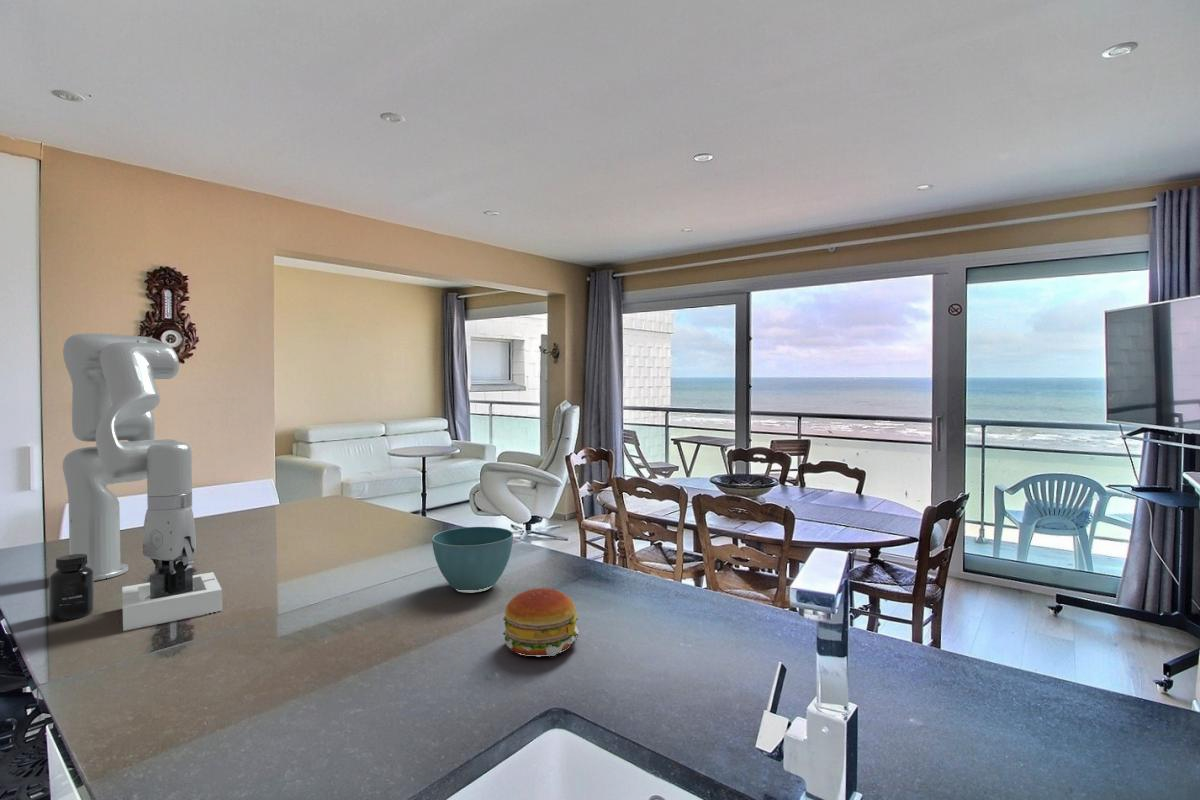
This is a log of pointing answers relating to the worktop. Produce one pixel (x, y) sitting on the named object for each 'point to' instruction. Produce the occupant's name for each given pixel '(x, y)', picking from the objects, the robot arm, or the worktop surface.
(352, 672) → the worktop surface
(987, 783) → the worktop surface
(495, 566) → the teal bowl
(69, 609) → the supplement bottle
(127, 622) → the dial housing
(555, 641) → the burger
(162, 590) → the dial
